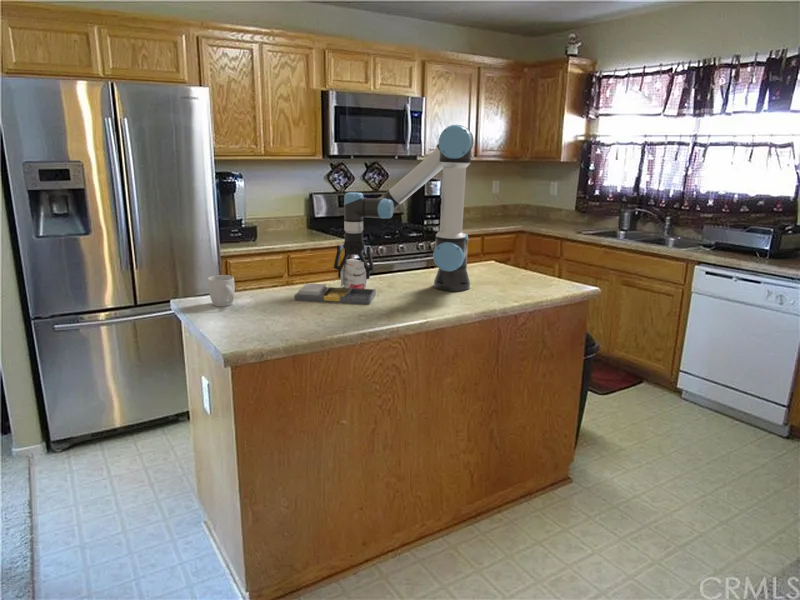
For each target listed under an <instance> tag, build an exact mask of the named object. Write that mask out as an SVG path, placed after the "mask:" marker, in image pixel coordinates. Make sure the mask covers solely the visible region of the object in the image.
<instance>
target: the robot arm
mask: <svg viewBox="0 0 800 600" xmlns="http://www.w3.org/2000/svg"><path fill="white" fill-rule="evenodd" d="M440 133H441V134H440V135H439V137H438V141H437V142H438V144H437V145H436V146H435V150H433V152H431V153H430V154H429V155H428V156H427V157H425V158H424V159H423V160H422V161H421V162H420V163H419V164H417V165H416V166H415V167H414V168H413V169H411V171H409V172H408V173H407V174H406V175H405V176H404V177H402V178H401V179H400V180H399V181H398V182H397V183H396V184H394V185H393V186H392V187H391V188H389V189H388V191H386V192H385V193H384V194H382V195H381V196H380V197H378V198H368V197H367V198H366V197H364V194H363V193H362V192H351V191H350V192H346V193H345V194H344V198H343V199H344V201H343V202H344V203H343V211H344V212H343V215H344V218H343V219H344V220H343V221H344V222H343V223H344V229H343V230H344V233H343V234H344V237H343V240H344V243H343V244H337V245H336V254H335V255H336V256H335V260H334V264H333V269H336V270H337V273H338V274H337V277H338V278H339V279H340V287H344V263H345V261H346V260H347V259H349V258H348V257H349V256H353V255H354V256H358V258H359V259H360V260H359V261H361V262H364V288H367V287H368V280H369V279H370V278H371V275H370V274H371V271H374V269H375V265H374V261H373V257H372V252H371V248H372V246H371V245H370V244H369V245H365V244H364V232H363V231H364V218H371V219H374V218H375V219H383V220H384V219H391V218H392V217H393V215H394V212H395V210H396V209H397V208H398V207H400V206H401V204H403V202H405V201H406V200H407V199H408V198H410V197H411V196H412V195H413V194H414V193H416V192H417V191H418V190H419V189H420V188H422V187H423V186H424V185H425V184H426V183H428V182H429V181H430V180H431V179H432V178H434V176H436V175H437V174H438V173H440V172H441V171H442V184H441V185H442V186H441V205H440V224H439V231H438V232H437V233H436V234H435V245H434V250H433V253H432V259H433V262H434V264H435V265H436V266H437V268H438V269H437V272H436V275H435V278H434V281H433V287H434V288H435V289H438V290H439V291H440V290H441V291H446V292H461V291H462V292H463V291H467V290H469V289H470V287H471V282H470V278H469V274H468V267H467V266H468V250H469V247H468V245H469V244H468V243H469V235H468V233H464V232H463V223H464V222H463V221H464V209H465V208H464V205H465V191H466V189H465V188H466V174H467V167H469V166H470V165H471V161H472V159H471V158H472V149H473V146H474V144H475V143H474V141H475V139H474V136H473V133H472V132H471V131H470V129H469V128H467V127H465V126H464V125H461V124H451V125H448V126H447V127H445V128H444V129H443V130H442V132H440ZM343 249H344V250H345V251H346V252H345V254H344V256H343V258H342V260H341V258H340V257H341V254H342V253H341V252H342V250H343ZM363 250H364V251H365V252H366V256H367V260H368V262H367V260H366V259H365V256H364V254H363V252H362V251H363ZM340 260H341V262H340ZM339 263H340V264H339Z"/></svg>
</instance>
